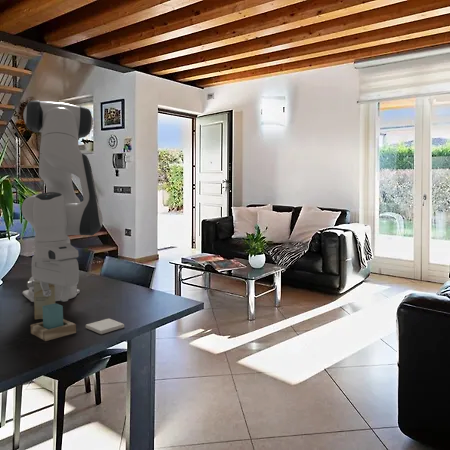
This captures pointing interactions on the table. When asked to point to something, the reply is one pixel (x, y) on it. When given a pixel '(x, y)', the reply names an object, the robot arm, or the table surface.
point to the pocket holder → (53, 330)
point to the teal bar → (52, 316)
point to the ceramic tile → (104, 326)
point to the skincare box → (42, 298)
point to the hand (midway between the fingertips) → (55, 298)
